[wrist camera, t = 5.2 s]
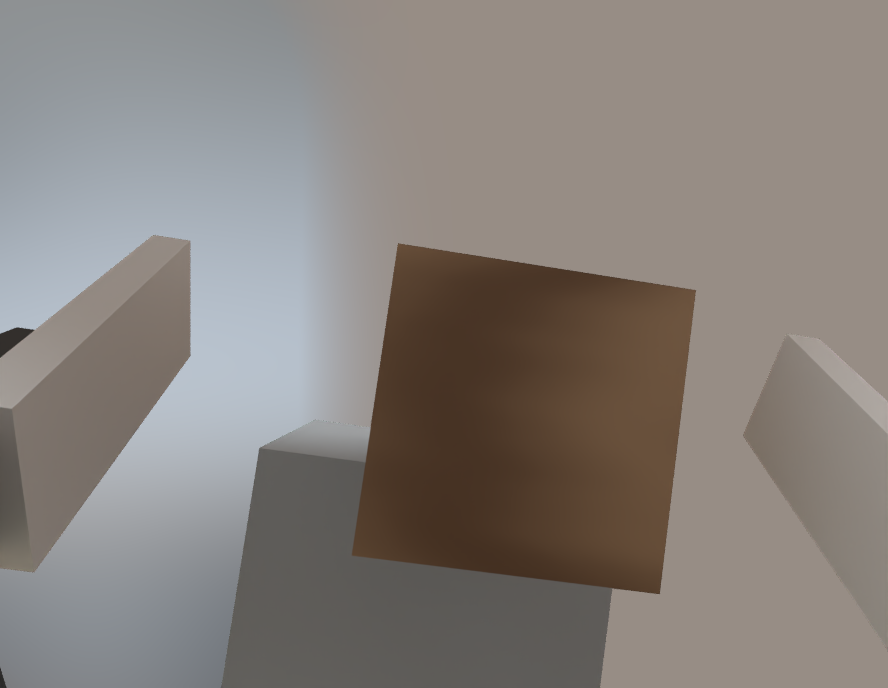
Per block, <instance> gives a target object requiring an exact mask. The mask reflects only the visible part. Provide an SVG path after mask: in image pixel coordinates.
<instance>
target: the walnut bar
mask: <svg viewBox="0 0 888 688" xmlns="http://www.w3.org/2000/svg"><path fill="white" fill-rule="evenodd" d="M695 292H696V290H691V289H685V288H678V287H672V286H665V285H659V284H653V283H646V282H640V281H634V280H627V279H621V278H615V277H608V276H602V275H596V274H589V273H583V272H577V271H570V270H564V269H557V268H551V267H545V266H538V265H532V264H525V263H519V262H513V261H507V260H500V259H493V258H487V257H481V256H475V255H468V254H462V253H455V252H449V251H443V250H437V249H429V248H424V247H418V246H411V245H405V244H399V243H398V247H397V254H396V261H395V267H394V274H393V281H392V288H391V294H390V301H389V308H388V314H387V321H386V328H385V335H384V341H383V348H382V355H381V362H380V368H379V376H378V382H377V388H376V395H375V402H374V409H373V416H372V423H371V429H370V435H369V442H368V449H367V456H366V462H365V469H364V476H363V482H362V489H361V496H360V503H359V509H358V516H357V523H356V529H355V536H354V543H353V550H352V556H358V557H366V558H374V559H382V560H390V561H398V562H406V563H414V564H422V565H430V566H438V567H446V568H454V569H462V570H470V571H478V572H486V573H494V574H502V575H510V576H518V577H526V578H534V579H542V580H550V581H559V582H567V583H575V584H583V585H591V586H599V587H607V588H615V589H623V590H631V591H639V592H647V593H656V594H660V587H661V579H662V570H663V562H664V553H665V544H666V535H667V528H668V520H669V511H670V503H671V494H672V486H673V477H674V469H675V460H676V453H677V444H678V436H679V427H680V419H681V410H682V402H683V394H684V385H685V376H686V368H687V360H688V352H689V342H690V335H691V326H692V318H693V310H694V301H695Z"/></svg>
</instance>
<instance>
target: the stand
mask: <svg viewBox="0 0 888 688" xmlns="http://www.w3.org/2000/svg"><path fill="white" fill-rule="evenodd" d="M370 429H371V427H363V426H356V425H349V424H341V423H334V422H327V421H320V420H314V421H312V422H310V423H308V424H306V425H304V426H302V427H300V428H298V429H296V430H294V431H292V432H290V433H288V434H286V435H284V436H282V437H280V438H278V439H276V440H274V441H272V442H270V443H269V444H267V445H265V446H263V447H261V448H259V454H258V461H257V467H256V473H255V479H254V486H253V492H252V498H251V504H250V511H249V517H248V523H247V530H246V536H245V542H244V548H243V555H242V561H241V568H240V574H239V580H238V586H237V592H236V599H235V606H234V611H233V617H232V624H231V630H230V636H229V643H228V649H227V655H226V661H225V668H224V674H223V680H222V687H221V688H600V683H601V674H602V666H603V658H604V650H605V642H606V634H607V626H608V618H609V610H610V601H611V594H612V588H607V587H599V586H591V585H583V584H575V583H567V582H559V581H550V580H542V579H534V578H526V577H518V576H510V575H502V574H494V573H486V572H478V571H470V570H462V569H454V568H446V567H438V566H430V565H422V564H414V563H406V562H398V561H390V560H382V559H374V558H366V557H358V556H352V550H353V543H354V536H355V529H356V523H357V516H358V509H359V503H360V496H361V489H362V482H363V476H364V469H365V462H366V456H367V449H368V442H369V435H370Z"/></svg>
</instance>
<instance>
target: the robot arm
mask: <svg viewBox="0 0 888 688" xmlns="http://www.w3.org/2000/svg"><path fill="white" fill-rule="evenodd" d="M189 357H190V241H188V240H182V239H175V238H169V237H163V236H156V235H153V236H151V237H150V238H149V239H148V240H146V241H145V242H144V243H143V244H142V245H140V246H139V247H138V248H136V249H135V250H134V251H133V252H132V253H130V254H129V255H128V256H127V257H125V258H124V259H123V260H122V261H120V262H119V263H118V264H117V265H115V266H114V267H113V268H112V269H110V270H109V271H108V272H107V273H106V274H104V275H103V276H102V277H100V278H99V279H98V280H97V281H95V282H94V283H93V284H92V285H90V286H89V287H88V288H87V289H86V290H84V291H83V292H82V293H80V294H79V295H78V296H77V297H76V298H74V299H73V300H72V301H71V302H69V303H68V304H67V305H66V306H64V307H63V308H62V309H61V310H59V311H58V312H57V313H56V314H54V315H53V316H52V317H51V318H50V319H48V320H47V321H46V322H44V323H43V324H42V325H41V326H40V327H38V328H37V329H36V330H30V329H24V328H14V329H12V330H9V331H6V332H4V333H1V334H0V568H3V569H11V570H20V571H27V572H35V570H36V569H37V568H38V566H39V565H40V563H41V562H42V561H43V559H44V558H45V556H46V555H47V553H48V552H49V551H50V550H51V548H52V547H53V545H54V544H55V542H56V541H57V540H58V539H59V537H60V536H61V534H62V533H63V531H64V530H65V529H66V527H67V526H68V525H69V523H70V522H71V520H72V519H73V518H74V516H75V515H76V514H77V512H78V511H79V509H80V508H81V507H82V505H83V504H84V502H85V501H86V500H87V498H88V497H89V496H90V494H91V493H92V491H93V490H94V489H95V487H96V486H97V484H98V483H99V482H100V480H101V479H102V477H103V476H104V475H105V473H106V472H107V471H108V469H109V468H110V466H111V465H112V464H113V462H114V461H115V459H116V458H117V457H118V455H119V454H120V453H121V451H122V450H123V448H124V447H125V446H126V444H127V443H128V441H129V440H130V439H131V437H132V436H133V435H134V433H135V432H136V430H137V429H138V428H139V426H140V425H141V423H142V422H143V421H144V419H145V418H146V416H147V415H148V414H149V412H150V411H151V409H152V408H153V407H154V405H155V404H156V403H157V401H158V400H159V398H160V397H161V396H162V394H163V393H164V391H165V390H166V389H167V387H168V386H169V385H170V383H171V382H172V380H173V379H174V377H175V376H176V375H177V373H178V372H179V371H180V369H181V368H182V367H183V365H184V364H185V362H186V361H187V360H188V358H189ZM743 436H744V438H745V439H746V441H747V442H748V444H749V445H750V447H751V448H752V450H753V451H754V453H755V454H756V456H757V457H758V459H759V460H760V462H761V463H762V465H763V466H764V468H765V469H766V470H767V472H768V474H769V475H770V477H771V478H772V480H773V481H774V483H775V484H776V485H777V487H778V488H779V490H780V491H781V493H782V494H783V496H784V497H785V499H786V500H787V502H788V503H789V505H790V506H791V508H792V509H793V511H794V512H795V514H796V515H797V517H798V518H799V520H800V521H801V523H802V524H803V525H804V527H805V529H806V530H807V532H808V533H809V534H810V536H811V537H812V539H813V540H814V541H815V543H816V545H817V546H818V548H819V549H820V551H821V552H822V554H823V555H824V557H825V558H826V560H827V561H828V563H829V564H830V566H831V567H832V569H833V570H834V572H835V573H836V575H837V576H838V578H839V579H840V580H841V582H842V584H843V585H844V586H845V588H846V589H847V591H848V592H849V594H850V595H851V597H852V598H853V600H854V601H855V603H856V604H857V606H858V607H859V609H860V610H861V612H862V613H863V615H864V616H865V618H866V619H867V621H868V622H869V623H870V625H871V627H872V628H873V629H874V631H875V632H876V634H877V635H878V637H879V638H880V640H881V641H882V643H883V644H884V646H885V647H886V649H887V650H888V401H887V400H886V399H884V398H883V397H882V396H881V395H880V394H879V393H878V392H877V391H875V389H873V388H872V387H871V386H870V385H869V384H868V383H867V382H866V381H865V380H864V379H863V378H862V377H861V376H859V375H858V374H857V373H856V372H855V371H854V370H853V369H852V368H851V367H849V365H847V364H846V363H845V362H844V361H843V360H842V359H841V358H840V357H839V356H838V355H837V354H835V353H834V352H833V351H832V350H831V349H830V348H829V347H828V346H827V345H826V344H824V343H823V342H822V341H821V340H820V339H818V338H812V337H806V336H798V335H793V334H786V336H785V338H784V341H783V343H782V346H781V348H780V350H779V352H778V355H777V357H776V359H775V362H774V364H773V366H772V369H771V371H770V373H769V376H768V378H767V380H766V383H765V385H764V387H763V390H762V392H761V394H760V397H759V399H758V402H757V404H756V406H755V408H754V411H753V413H752V415H751V418H750V420H749V422H748V425H747V427H746V429H745V432H744V434H743ZM0 688H6V685H5V682H4V678H3V675H2V672H1V669H0Z"/></svg>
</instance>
